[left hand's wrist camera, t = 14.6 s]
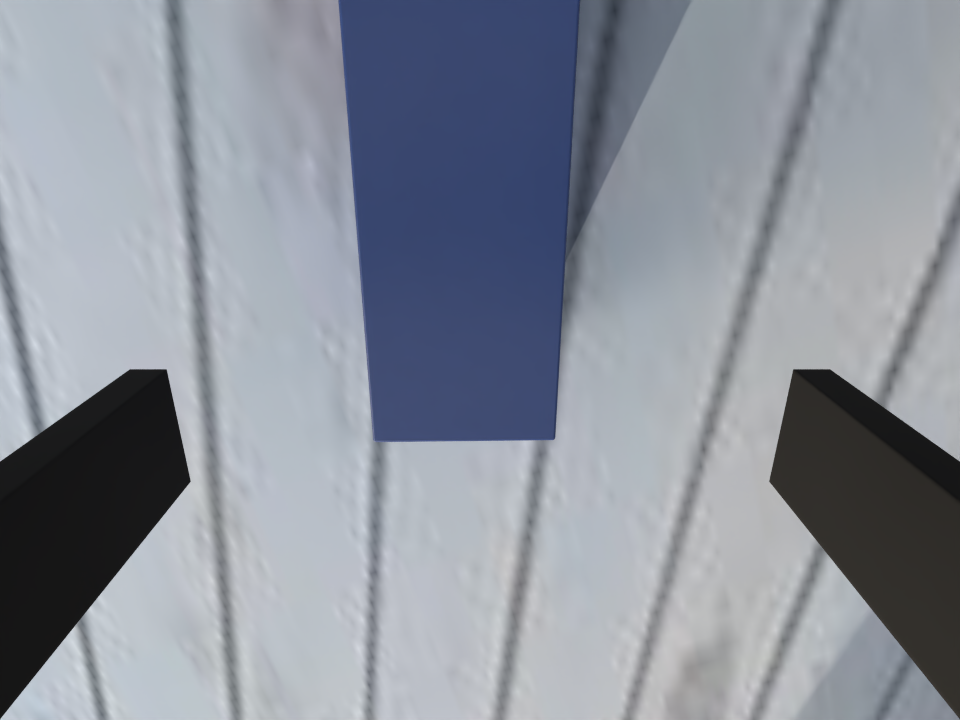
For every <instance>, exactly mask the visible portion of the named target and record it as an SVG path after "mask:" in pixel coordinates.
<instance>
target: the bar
mask: <svg viewBox="0 0 960 720" xmlns="http://www.w3.org/2000/svg"><path fill="white" fill-rule="evenodd" d="M579 10H580V0H339V13H340V26H341V38H342V51H343V63H344V76H345V89H346V101H347V114H348V126H349V139H350V152H351V164H352V177H353V189H354V202H355V215H356V227H357V240H358V253H359V265H360V278H361V290H362V303H363V316H364V328H365V341H366V353H367V366H368V379H369V391H370V404H371V417H372V429H373V440H374V442H417V441H505V440H554V439H555V432H556V414H557V397H558V379H559V361H560V344H561V326H562V309H563V291H564V273H565V256H566V238H567V221H568V203H569V186H570V168H571V150H572V133H573V115H574V98H575V80H576V63H577V45H578V27H579Z"/></svg>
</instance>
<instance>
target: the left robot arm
mask: <svg viewBox="0 0 960 720" xmlns="http://www.w3.org/2000/svg"><path fill="white" fill-rule="evenodd" d="M190 482H191V481H190V476H189V472H188V467H187V462H186V458H185V453H184V448H183V444H182V439H181V434H180V430H179V425H178V420H177V416H176V411H175V406H174V402H173V397H172V392H171V388H170V383H169V379H168V374H167V369H130V370H129V371H127V372H126V373H124V374H123V375H122V376H120V377H119V378H117V379H116V380H114V381H113V382H112V383H110V384H109V385H107V386H106V387H105V388H103V389H102V390H100V391H99V392H98V393H96V394H95V395H93V396H92V397H91V398H89V399H88V400H86V401H85V402H84V403H82V404H81V405H79V406H78V407H76V408H75V409H74V410H72V411H71V412H69V413H68V414H67V415H65V416H64V417H62V418H61V419H60V420H58V421H57V422H55V423H54V424H53V425H51V426H50V427H48V428H47V429H46V430H44V431H43V432H41V433H40V434H39V435H37V436H36V437H34V438H33V439H31V440H30V441H29V442H27V443H26V444H24V445H23V446H22V447H20V448H19V449H17V450H16V451H15V452H13V453H12V454H10V455H9V456H8V457H6V458H5V459H3V460H2V461H1V462H0V719H1V717H2V716H3V715H4V714H5V712H6V711H7V710H8V709H9V707H10V706H11V705H12V704H13V702H14V701H15V700H16V699H17V697H18V696H19V695H20V694H21V692H22V691H23V690H24V689H25V687H26V686H27V685H28V684H29V682H30V681H31V680H32V679H33V677H34V676H35V675H36V674H37V672H38V671H39V670H40V669H41V667H42V666H43V665H44V664H45V662H46V661H47V660H48V659H49V657H50V656H51V655H52V654H53V652H54V651H55V650H56V649H57V647H58V646H59V645H60V644H61V642H62V641H63V640H64V639H65V638H66V636H67V635H68V634H69V633H70V631H71V630H72V629H73V628H74V626H75V625H76V624H77V623H78V621H79V620H80V619H81V618H82V616H83V615H84V614H85V613H86V611H87V610H88V609H89V608H90V606H91V605H92V604H93V603H94V601H95V600H96V599H97V598H98V596H99V595H100V594H101V593H102V591H103V590H104V589H105V588H106V586H107V585H108V584H109V583H110V581H111V580H112V579H113V578H114V576H115V575H116V574H117V573H118V571H119V570H120V569H121V568H122V566H123V565H124V564H125V563H126V561H127V560H128V559H129V558H130V556H131V555H132V554H133V553H134V551H135V550H136V549H137V548H138V546H139V545H140V544H141V543H142V541H143V540H144V539H145V538H146V537H147V535H148V534H149V533H150V532H151V530H152V529H153V528H154V527H155V525H156V524H157V523H158V522H159V520H160V519H161V518H162V517H163V515H164V514H165V513H166V512H167V510H168V509H169V508H170V507H171V505H172V504H173V503H174V502H175V500H176V499H177V498H178V497H179V495H180V494H181V493H182V492H183V490H184V489H185V488H186V487H187V485H188V484H189V483H190ZM769 482H770V483H771V484H772V485H773V487H774V488H775V489H776V490H777V492H778V493H779V494H780V495H781V497H782V498H783V499H784V500H785V502H786V503H787V504H788V505H789V507H790V508H791V509H792V510H793V512H794V513H795V514H796V515H797V517H798V518H799V519H800V520H801V522H802V523H803V524H804V525H805V527H806V528H807V529H808V530H809V532H810V533H811V534H812V535H813V537H814V538H815V539H816V540H817V541H818V543H819V544H820V545H821V546H822V548H823V549H824V550H825V551H826V553H827V554H828V555H829V556H830V558H831V559H832V560H833V561H834V563H835V564H836V565H837V566H838V568H839V569H840V570H841V571H842V573H843V574H844V575H845V576H846V578H847V579H848V580H849V581H850V583H851V584H852V585H853V586H854V588H855V589H856V590H857V591H858V593H859V594H860V595H861V596H862V598H863V599H864V600H865V601H866V603H867V604H868V605H869V606H870V608H871V609H872V610H873V611H874V613H875V614H876V615H877V616H878V618H879V619H880V620H881V621H882V623H883V624H884V625H885V626H886V628H887V629H888V630H889V631H890V633H891V634H892V635H893V636H894V638H895V639H896V640H897V641H898V642H899V644H900V645H901V646H902V647H903V649H904V650H905V651H906V652H907V654H908V655H909V656H910V657H911V659H912V660H913V661H914V662H915V664H916V665H917V666H918V667H919V669H920V670H921V671H922V672H923V674H924V675H925V676H926V677H927V679H928V680H929V681H930V682H931V684H932V685H933V686H934V687H935V689H936V690H937V691H938V692H939V694H940V695H941V696H942V697H943V699H944V700H945V701H946V702H947V704H948V705H949V706H950V707H951V709H952V710H953V711H954V712H955V714H956V715H957V716H958V717H959V719H960V462H959V461H958V460H957V459H955V458H954V457H952V456H951V455H950V454H948V453H947V452H945V451H944V450H943V449H941V448H940V447H938V446H937V445H936V444H934V443H933V442H931V441H930V440H929V439H927V438H926V437H924V436H923V435H921V434H920V433H919V432H917V431H916V430H914V429H913V428H912V427H910V426H909V425H907V424H906V423H905V422H903V421H902V420H900V419H899V418H898V417H896V416H895V415H893V414H892V413H891V412H889V411H888V410H886V409H885V408H884V407H882V406H881V405H879V404H878V403H876V402H875V401H874V400H872V399H871V398H869V397H868V396H867V395H865V394H864V393H862V392H861V391H860V390H858V389H857V388H855V387H854V386H853V385H851V384H850V383H848V382H847V381H846V380H844V379H843V378H841V377H840V376H838V375H837V374H836V373H834V372H833V371H831V370H830V369H793V374H792V379H791V383H790V388H789V392H788V397H787V402H786V406H785V411H784V416H783V420H782V425H781V430H780V434H779V439H778V444H777V448H776V453H775V458H774V462H773V467H772V472H771V476H770V481H769Z"/></svg>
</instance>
